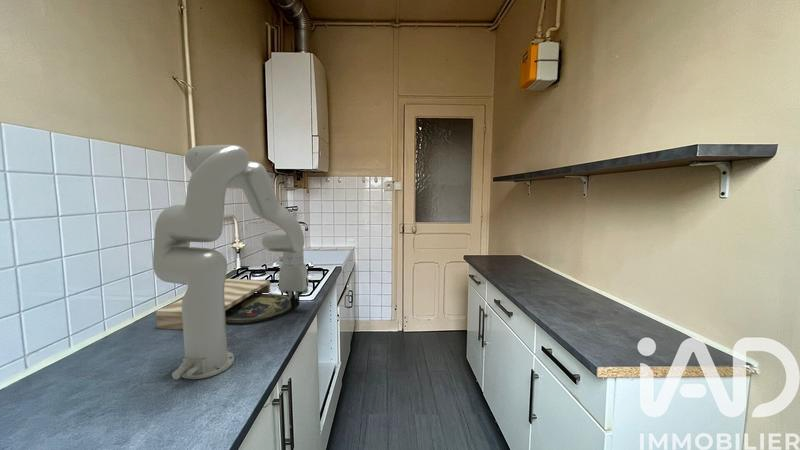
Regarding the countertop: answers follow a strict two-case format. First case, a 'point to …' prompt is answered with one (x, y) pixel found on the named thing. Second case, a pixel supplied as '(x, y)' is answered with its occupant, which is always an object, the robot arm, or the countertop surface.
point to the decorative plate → (258, 309)
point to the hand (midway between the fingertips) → (295, 307)
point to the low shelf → (232, 295)
